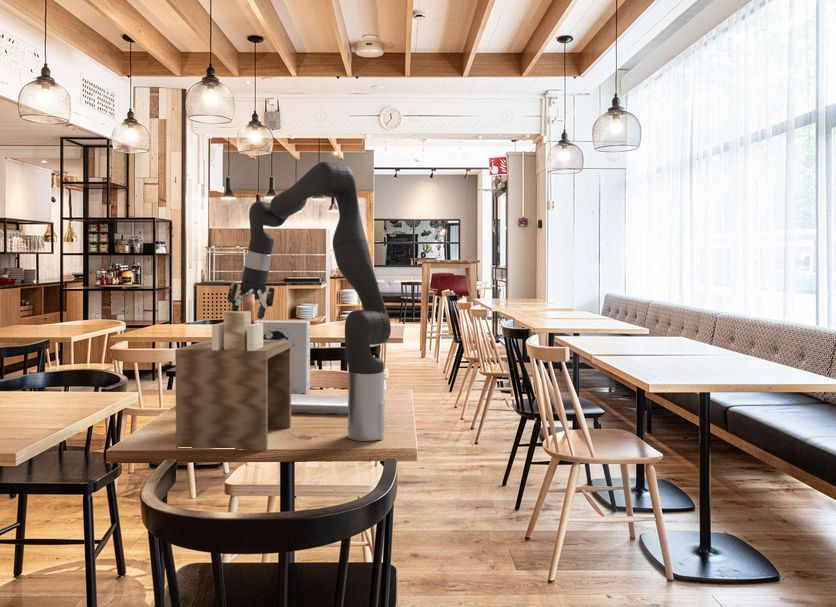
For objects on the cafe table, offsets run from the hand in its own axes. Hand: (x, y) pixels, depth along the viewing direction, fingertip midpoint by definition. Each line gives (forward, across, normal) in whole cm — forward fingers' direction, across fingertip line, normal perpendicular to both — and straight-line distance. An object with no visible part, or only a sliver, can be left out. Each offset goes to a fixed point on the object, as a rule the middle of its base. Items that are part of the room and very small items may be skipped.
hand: (247, 317), depth 202 cm
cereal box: (+29, +23, +12) cm, 39 cm away
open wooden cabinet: (+24, -15, -36) cm, 46 cm away
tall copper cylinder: (-1, -18, -37) cm, 42 cm away
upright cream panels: (-1, -21, -40) cm, 45 cm away
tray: (+24, +18, -18) cm, 35 cm away
